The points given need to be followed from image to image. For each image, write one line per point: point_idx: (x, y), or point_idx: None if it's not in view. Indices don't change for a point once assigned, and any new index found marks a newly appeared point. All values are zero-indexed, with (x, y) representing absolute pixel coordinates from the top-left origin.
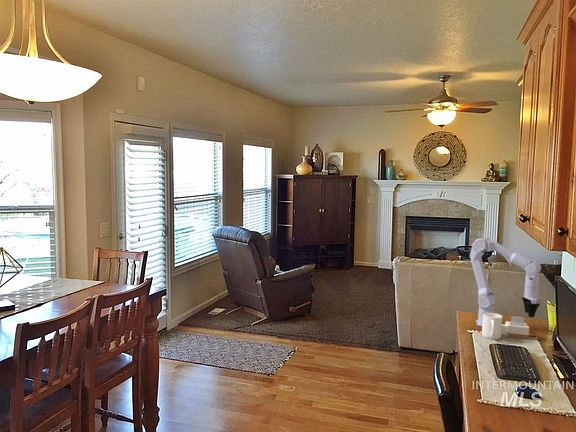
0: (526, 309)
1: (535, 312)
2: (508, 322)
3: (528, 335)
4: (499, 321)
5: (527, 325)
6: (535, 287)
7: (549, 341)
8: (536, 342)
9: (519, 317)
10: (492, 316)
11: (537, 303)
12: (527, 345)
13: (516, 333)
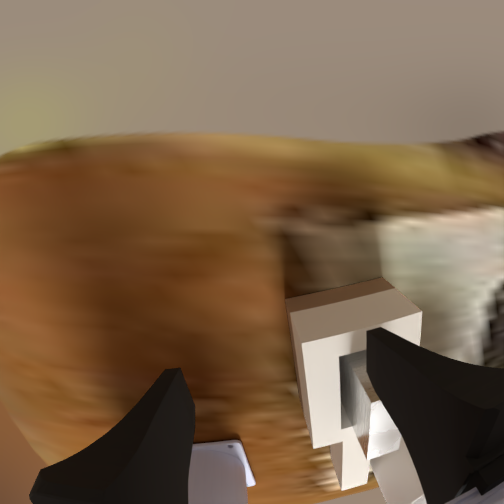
0: (187, 427)
1: (422, 348)
2: (337, 434)
3: (394, 288)
4: None
5: (365, 329)
6: None
7: (362, 146)
8: (419, 231)
9: (390, 419)
10: (393, 501)
11: (500, 425)
12: (474, 277)
13: None
